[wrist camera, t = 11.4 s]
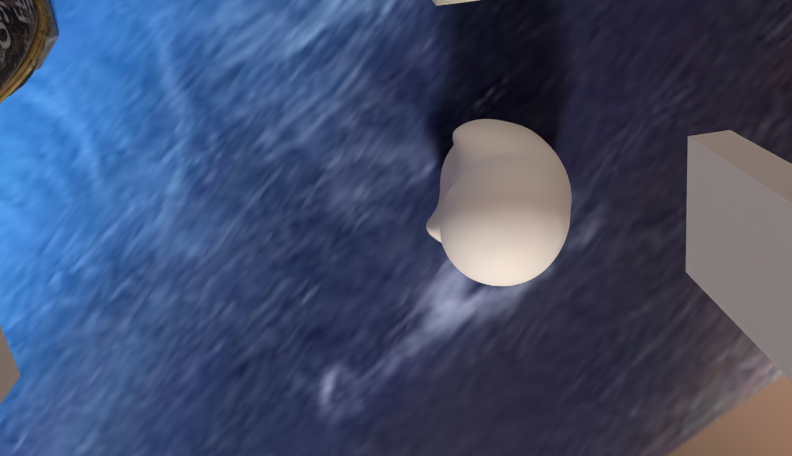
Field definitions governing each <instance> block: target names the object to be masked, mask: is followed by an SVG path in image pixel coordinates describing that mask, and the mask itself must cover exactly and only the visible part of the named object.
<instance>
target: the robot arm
mask: <svg viewBox="0 0 792 456" xmlns="http://www.w3.org/2000/svg"><path fill="white" fill-rule="evenodd" d="M686 272H687V274H688V275H689V276H690V277H691V278H692V279H693V280H694V281H695V282H696V283H697V284H698V285H699V286H700V287H701V288H702V289H703V290H704V291H705V292H706V293H707V294H708V295H709V296H710V297H711V298H712V299H713V301H714V302H715V303H716V304H717V305H718V306H719V307H720V308H721V309H722V310H723V311H724V312H725V313H726V314H727V315H728V316H729V317H730V318H731V319H732V320H733V321H734V322H735V323H736V324H737V325H738V326H739V328H740V329H741V330H742V331H743V332H744V333H745V334H746V335H747V336H748V337H749V338H750V339H751V340H752V341H753V342H754V343H755V344H756V345H757V346H758V347H759V348H760V349H761V350H762V351H763V352H764V353H765V355H766V356H767V357H768V358H769V359H770V360H771V361H772V362H773V363H774V364H775V365H776V366H777V367H778V368H779V369H780V370H781V371H782V372H783V373H784V374H785V375H786V376H787V377H788V378H789V379H790V380H791V381H792V164H791V163H789V162H787V161H785V160H783V159H781V158H780V157H778V156H776V155H774V154H772V153H771V152H769V151H767V150H765V149H763V148H761V147H760V146H758V145H756V144H754V143H752V142H751V141H749V140H747V139H745V138H743V137H742V136H740V135H738V134H736V133H734V132H732V131H731V130H727V131H720V132H714V133H707V134H701V135H695V136H688V166H687V229H686ZM19 377H20V373H19V370H18V368H17V366H16V363H15V361H14V358H13V356H12V353H11V351H10V348H9V346H8V344H7V341H6V339H5V336H4V334H3V331H2V329H1V326H0V404H1V402H2V401H3V399H4V398H5V397H6V395H7V394H8V392H9V391H10V390H11V388H12V387H13V385H14V384H15V383H16V381H17V380H18V378H19Z"/></svg>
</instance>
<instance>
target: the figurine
mask: <svg viewBox="0 0 792 456" xmlns="http://www.w3.org/2000/svg"><path fill="white" fill-rule="evenodd" d="M453 143H454V145H453V146H452V148H451V149H450V151H449V153H448V154H447V156H446V158H445V161H444V164H443V167H442V171H441V178H440V197H439V202H438V205H437V208H436V210H435V212H434V213H433V215H432V216H431V217H430V219H429V220H428V222H427V224H426V229H427V231H428V232H429V234H430V235H431V236H433V237H434V238H435V239H437V240H438V241H440V242H441V243H442V245H443V247H444V249H445V252H446V254H447V256H448V257H449V259H450V260H451V262H452V263H453V264H454V265H455V267H456V268H457V269H458V270H460V271H461V272H462V273H463V274H465V275H466V276H468V277H469V278H471V279H473V280H475V281H477V282H480V283H483V284H487V285H493V286H511V285H516V284H520V283H523V282H526V281H528V280H530V279H533V278H534V277H536V276H538V275H539V274H540V273H542V272H543V271H544V270H545V269H546V268H547V267H548V266H549V265H550V264H551V263H552V262H553V261H554V259H555V258H556V256H557V255H558V253H559V251H560V250H561V248H562V246H563V244H564V242H565V239H566V236H567V233H568V229H569V224H570V210H571V188H570V183H569V179H568V176H567V173H566V171H565V168H564V166H563V164H562V162H561V161H560V159H559V158H558V156H557V155H556V153H555V152H554V151H553V149H552V148H551V147H550V146H549V145H548V144H547V143H546V142H545V141H544V140H543V139H542V138H541V137H540V136H538V135H537V134H536V133H534V132H533V131H531V130H529V129H528V128H526V127H523V126H521V125H518V124H515V123H511V122H506V121H501V120H494V119H478V120H473V121H470V122H467V123H464V124H462V125H461V126H459V127H458V128H456V129H455V131H454V132H453Z"/></svg>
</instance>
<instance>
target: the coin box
mask: <svg viewBox="0 0 792 456" xmlns="http://www.w3.org/2000/svg"><path fill="white" fill-rule="evenodd" d="M432 1H433V2H434V3H435V5H436V6H438V5H446V4H454V3H462V2H470V1H478V0H432Z"/></svg>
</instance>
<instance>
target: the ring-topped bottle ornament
mask: <svg viewBox="0 0 792 456" xmlns="http://www.w3.org/2000/svg"><path fill="white" fill-rule="evenodd" d="M58 36H59V35H58V31H57V28H56V24H55V21H54V17H53V14H52V11H51V7H50V4H49V0H0V103H1V102H2V101H3V100H4V99H5V98H6V97H8V96H10V95H12V94H13V93H14V92H15V91H17V90H18V89H19V88H21V87H22V86H23V85H24V84H25V83H26V81H27V80H28V79H29V78H30V76H31V75H32V74H33V72H34V71H36V70H38V69H40V68H41V66H42V64H43V63H44V61H45V59H46V57H47V56H48V54H49V52H50V50H51V49H52V47H53V45H54V44H55V42H56V40H57V38H58Z"/></svg>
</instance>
